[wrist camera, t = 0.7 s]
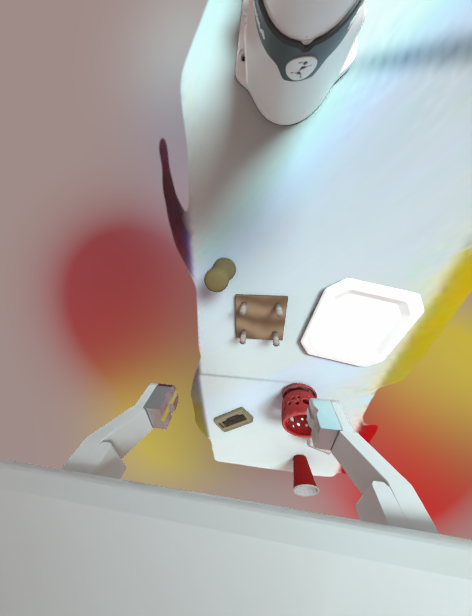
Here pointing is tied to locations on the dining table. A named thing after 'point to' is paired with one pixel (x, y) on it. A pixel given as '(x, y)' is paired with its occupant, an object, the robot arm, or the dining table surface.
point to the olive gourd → (220, 275)
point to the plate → (360, 322)
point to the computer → (233, 419)
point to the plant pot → (297, 409)
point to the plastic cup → (303, 478)
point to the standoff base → (260, 317)
